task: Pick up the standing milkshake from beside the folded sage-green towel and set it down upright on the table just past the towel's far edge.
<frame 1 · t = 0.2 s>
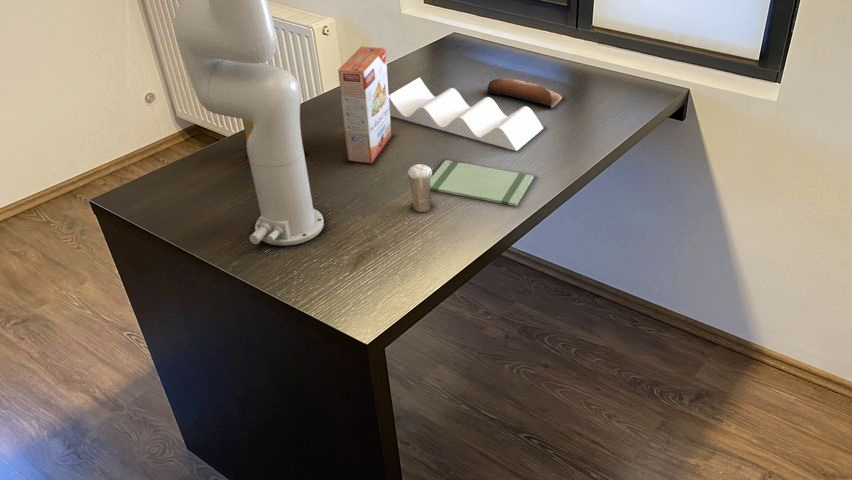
orange juice: (276, 156, 164), on the table
sunglasses case: (525, 97, 191), on the table
milkshake: (423, 209, 148), on the table
cracker box: (371, 149, 167), on the table
white wavy rack: (465, 122, 179), on the table
towel: (479, 183, 156), on the table
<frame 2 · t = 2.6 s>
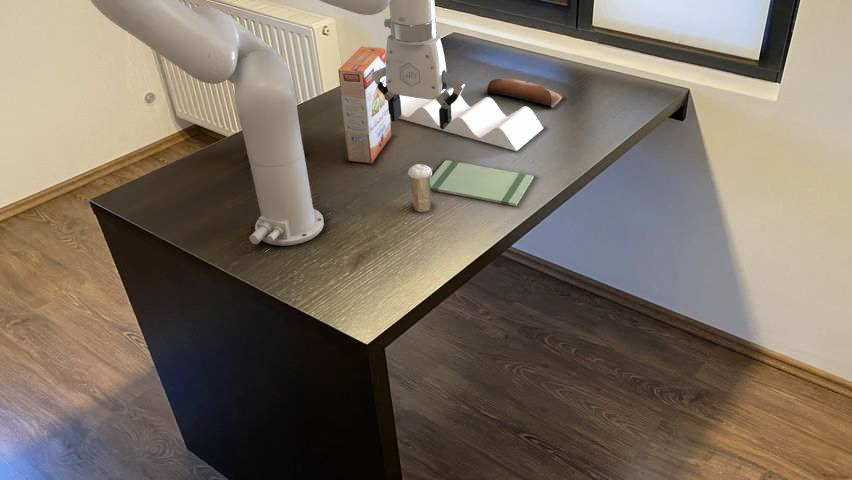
hand: (420, 122, 137), 18 cm above the table, tool pointing down, fingers open, 9 cm apart
nothing on the table moved.
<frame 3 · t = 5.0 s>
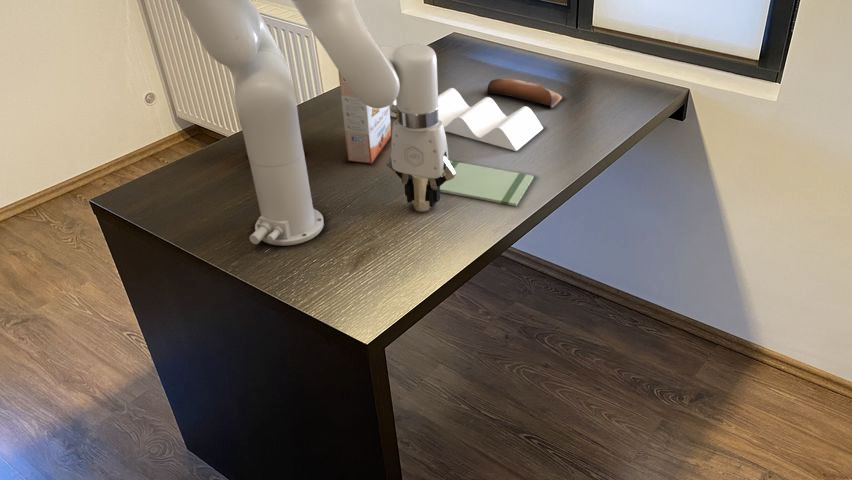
hand: (423, 200, 147), 2 cm above the table, tool pointing down, fingers closed on milkshake, 4 cm apart
milkshake: (423, 208, 148), on the table, touching gripper
everything else where it was.
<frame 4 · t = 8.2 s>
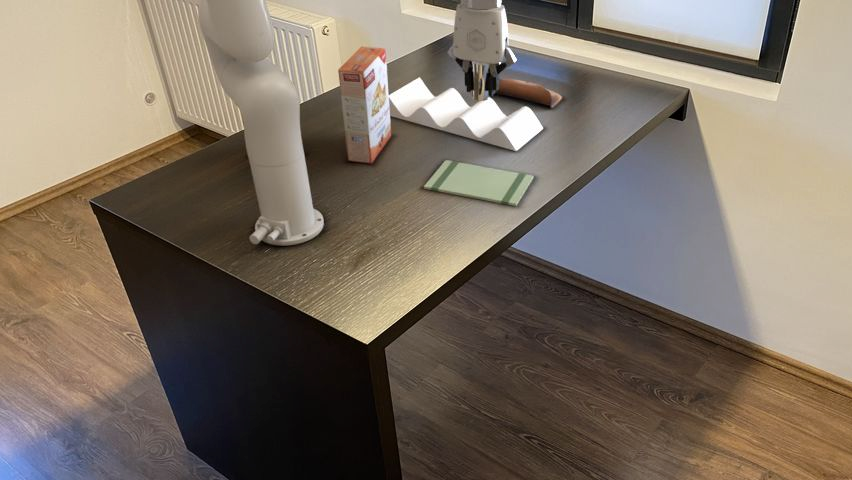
hand: (481, 90, 150), 18 cm above the table, tool pointing down, fingers closed on milkshake, 4 cm apart
milkshake: (482, 99, 151), point 16 cm above the table, touching gripper
everything else where it was.
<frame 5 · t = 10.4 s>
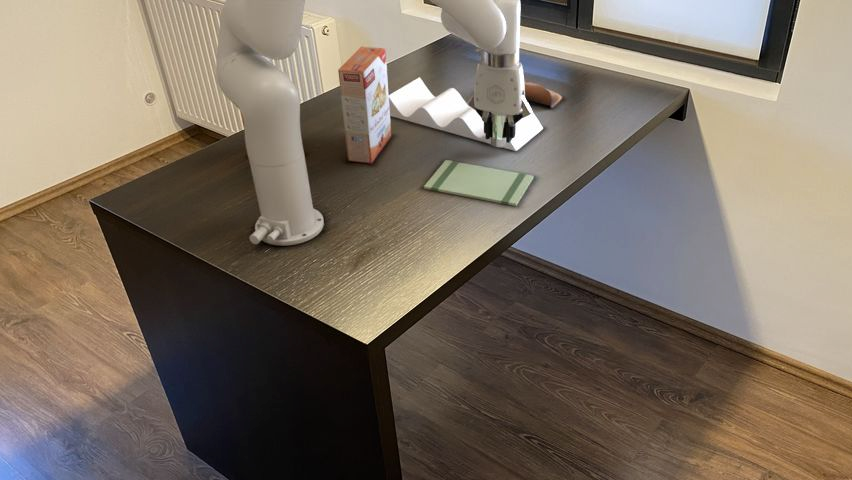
hand: (499, 137, 163), 4 cm above the table, tool pointing down, fingers closed on milkshake, 4 cm apart
milkshake: (499, 145, 164), point 3 cm above the table, touching gripper
everything else where it was.
when the fingers open (2 cm above the table, at t = 11.5 s): milkshake stays where it is, on the table.
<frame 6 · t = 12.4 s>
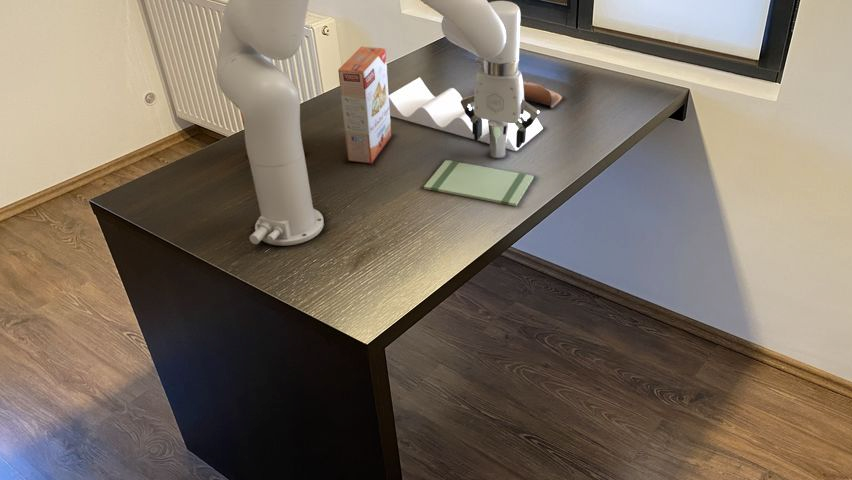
hand: (498, 141, 163), 4 cm above the table, tool pointing down, fingers open, 9 cm apart
milkshake: (499, 156, 166), on the table
everything else where it was.
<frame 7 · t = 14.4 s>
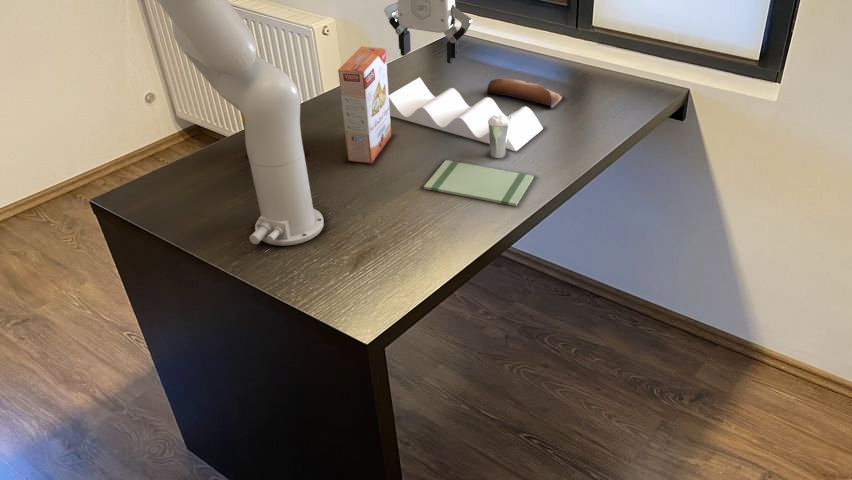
hand: (428, 57, 144), 25 cm above the table, tool pointing down, fingers open, 9 cm apart
nothing on the table moved.
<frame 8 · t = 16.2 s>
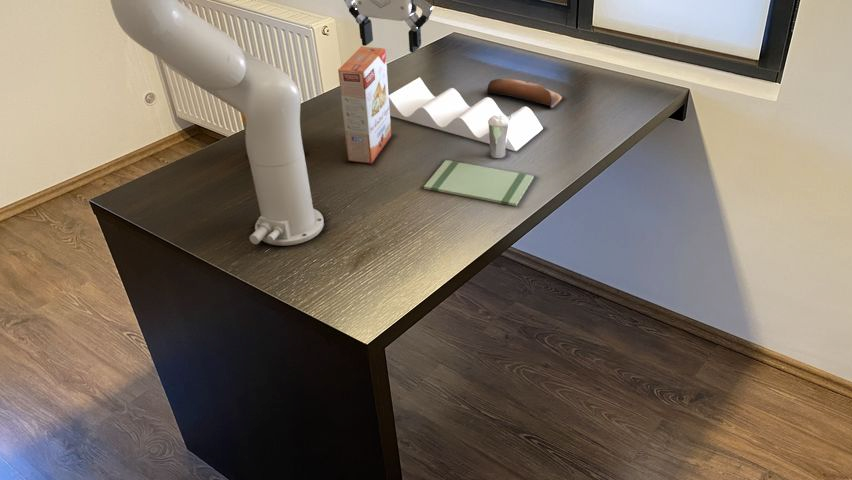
hand: (391, 46, 139), 28 cm above the table, tool pointing down, fingers open, 9 cm apart
nothing on the table moved.
at the end: milkshake inside the target area on the table beside the towel (0.5 cm from its centre), on the table; milkshake tilted 0°; the gripper is holding nothing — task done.
